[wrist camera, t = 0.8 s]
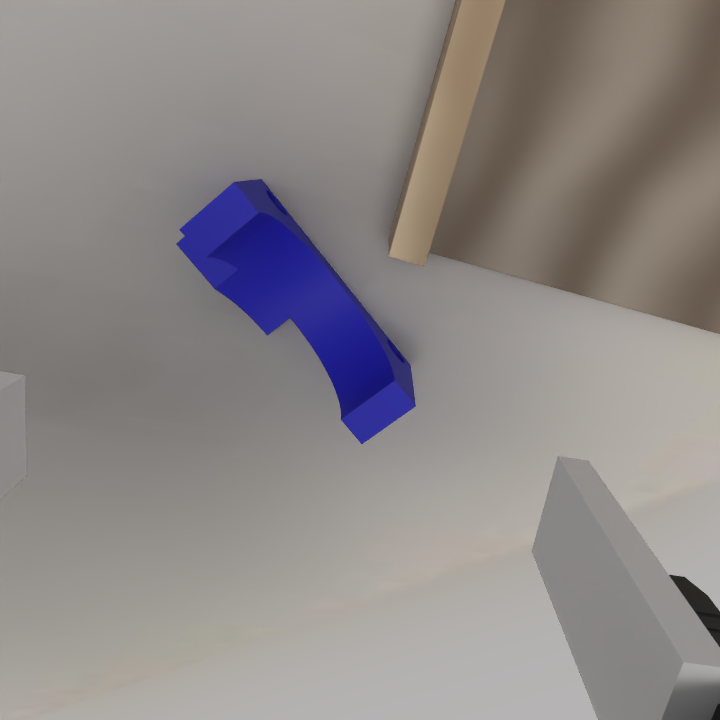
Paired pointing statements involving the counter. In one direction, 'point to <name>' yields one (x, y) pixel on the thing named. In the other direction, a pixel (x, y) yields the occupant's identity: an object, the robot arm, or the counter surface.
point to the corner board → (576, 151)
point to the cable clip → (299, 300)
